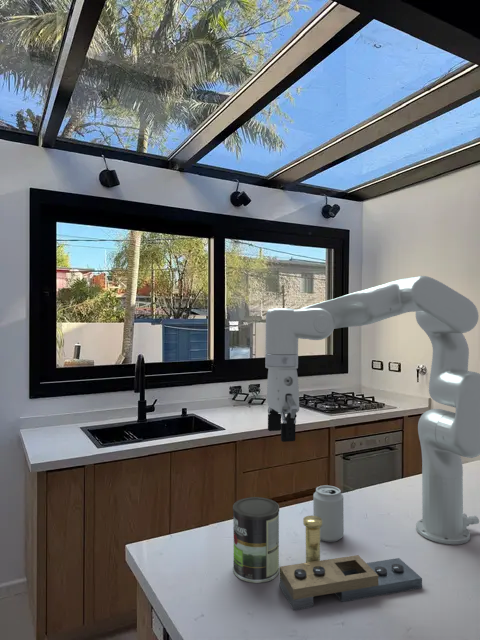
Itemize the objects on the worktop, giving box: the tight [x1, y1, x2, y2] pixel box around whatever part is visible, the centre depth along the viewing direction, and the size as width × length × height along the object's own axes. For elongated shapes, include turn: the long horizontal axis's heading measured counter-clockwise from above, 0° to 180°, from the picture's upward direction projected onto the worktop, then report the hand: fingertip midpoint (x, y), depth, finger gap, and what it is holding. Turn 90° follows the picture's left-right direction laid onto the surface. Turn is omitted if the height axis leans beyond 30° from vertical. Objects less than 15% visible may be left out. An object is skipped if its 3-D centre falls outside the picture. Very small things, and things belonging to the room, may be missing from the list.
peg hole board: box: [279, 554, 423, 611], centre depth 91 cm, size 28×8×5 cm, turn 104°
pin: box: [302, 515, 322, 563], centre depth 100 cm, size 4×4×10 cm
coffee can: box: [232, 496, 280, 584], centre depth 98 cm, size 10×10×14 cm
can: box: [312, 484, 345, 543], centre depth 113 cm, size 8×8×12 cm
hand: (280, 435), depth 103 cm, fingers open, 9 cm apart
